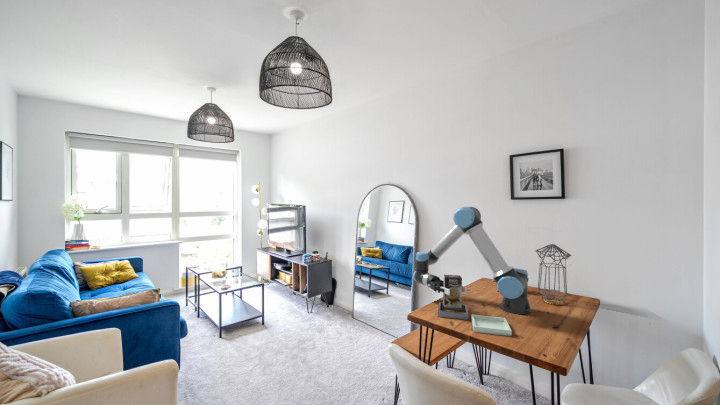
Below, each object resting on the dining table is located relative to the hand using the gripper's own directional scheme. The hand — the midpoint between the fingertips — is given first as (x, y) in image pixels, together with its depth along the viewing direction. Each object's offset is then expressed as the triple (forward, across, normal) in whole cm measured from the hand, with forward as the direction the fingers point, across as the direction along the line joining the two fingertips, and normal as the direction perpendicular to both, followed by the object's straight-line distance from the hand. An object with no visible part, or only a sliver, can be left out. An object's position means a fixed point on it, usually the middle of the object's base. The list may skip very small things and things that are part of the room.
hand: (457, 291), depth 163 cm
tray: (+18, -4, -13) cm, 22 cm away
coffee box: (-4, 0, -9) cm, 10 cm away
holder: (-4, 0, -13) cm, 14 cm away
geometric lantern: (+2, -72, -14) cm, 74 cm away
